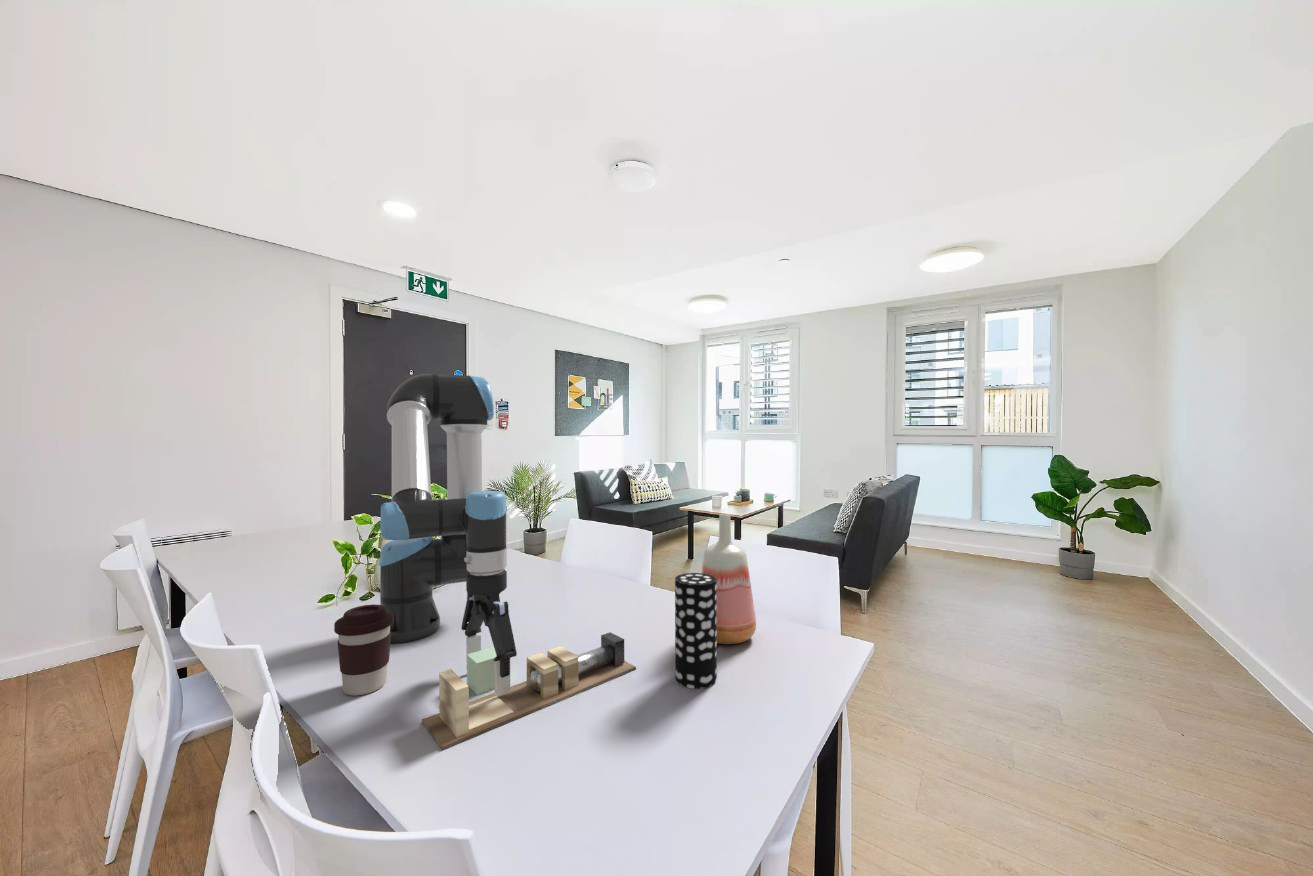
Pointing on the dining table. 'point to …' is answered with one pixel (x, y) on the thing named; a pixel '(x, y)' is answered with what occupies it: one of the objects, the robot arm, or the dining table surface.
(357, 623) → the coffee cup
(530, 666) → the jig
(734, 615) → the vase
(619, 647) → the shaft
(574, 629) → the dining table surface
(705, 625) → the spotted tube
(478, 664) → the block
